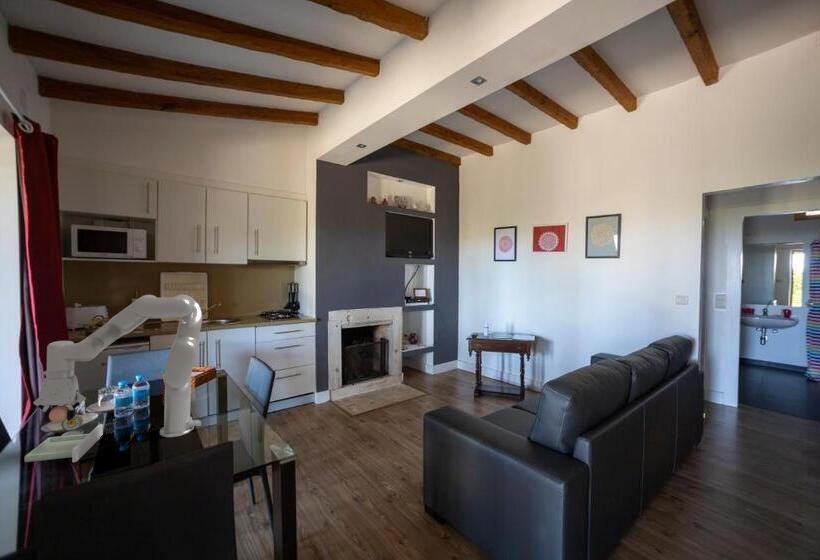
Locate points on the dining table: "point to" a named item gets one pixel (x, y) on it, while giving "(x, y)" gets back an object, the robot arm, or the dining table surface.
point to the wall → (87, 443)
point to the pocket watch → (74, 424)
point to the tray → (55, 448)
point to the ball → (58, 414)
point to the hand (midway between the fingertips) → (59, 419)
